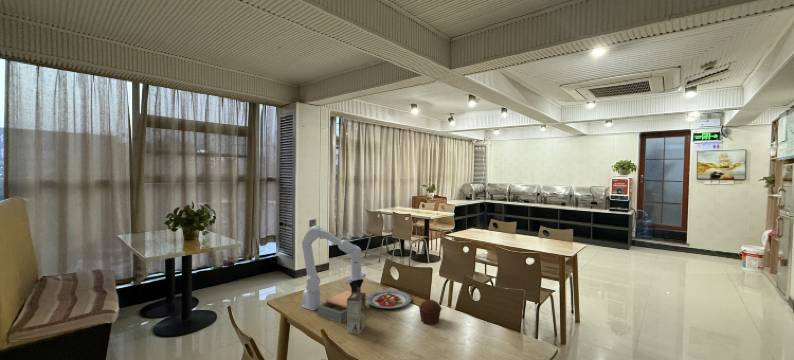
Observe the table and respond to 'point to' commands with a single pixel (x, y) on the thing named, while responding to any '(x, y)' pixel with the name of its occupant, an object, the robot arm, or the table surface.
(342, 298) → the lid
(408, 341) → the table surface
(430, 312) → the muffin
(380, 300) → the ceramic plate
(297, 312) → the table surface
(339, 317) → the box
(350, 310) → the coffee box
